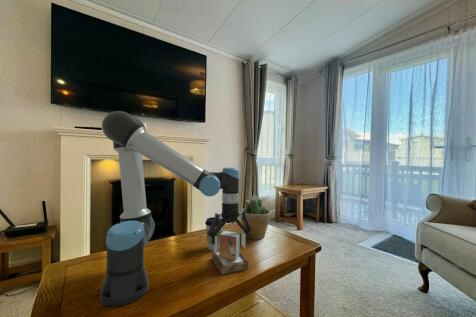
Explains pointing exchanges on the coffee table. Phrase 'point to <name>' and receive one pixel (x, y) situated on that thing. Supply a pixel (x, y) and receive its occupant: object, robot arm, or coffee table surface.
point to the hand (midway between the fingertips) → (229, 248)
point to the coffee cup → (208, 224)
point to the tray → (230, 263)
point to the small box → (229, 245)
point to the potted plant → (256, 218)
